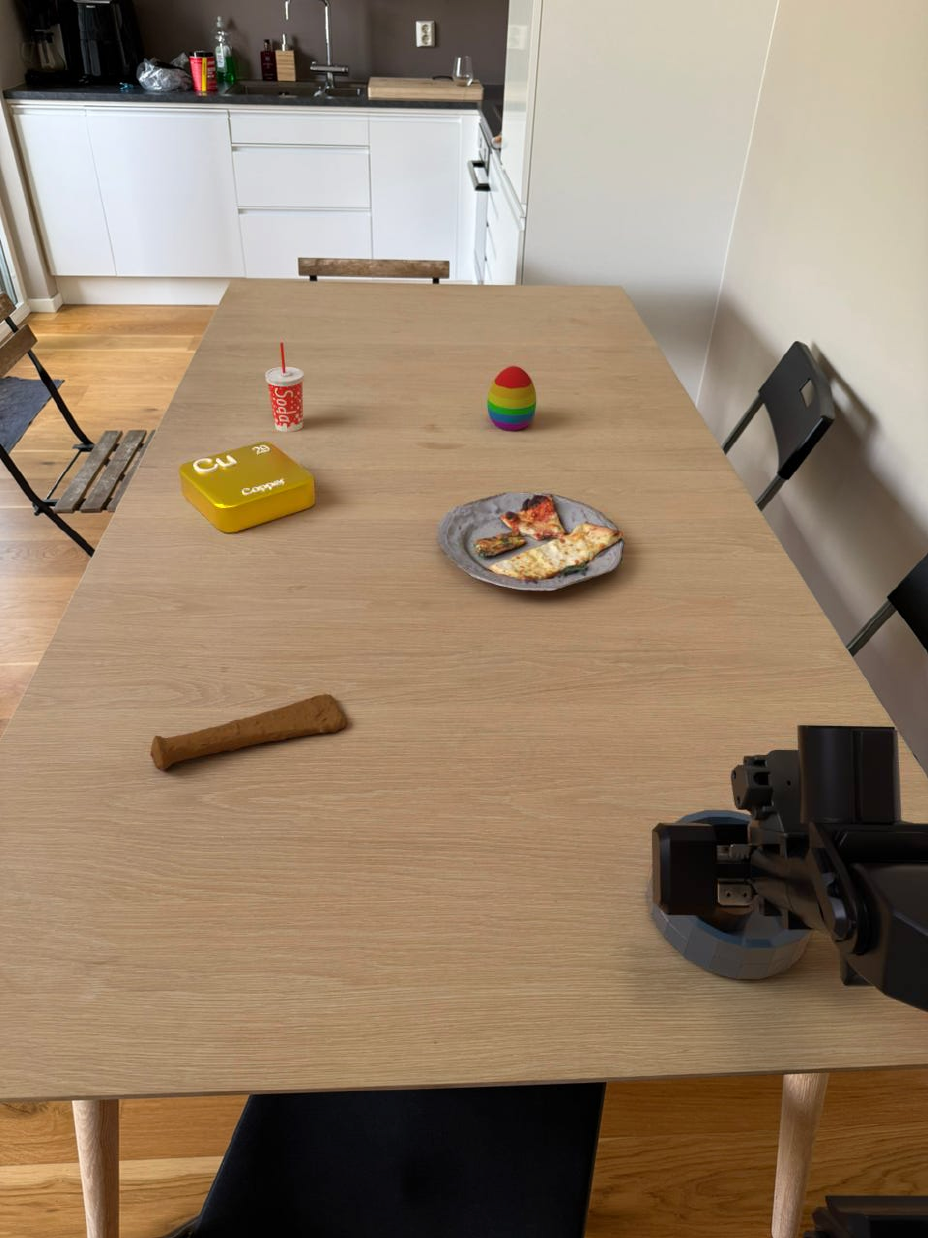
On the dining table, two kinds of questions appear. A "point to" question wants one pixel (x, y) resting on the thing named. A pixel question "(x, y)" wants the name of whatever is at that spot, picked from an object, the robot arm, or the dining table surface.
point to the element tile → (247, 486)
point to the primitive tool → (252, 730)
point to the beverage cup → (286, 396)
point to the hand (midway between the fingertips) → (743, 853)
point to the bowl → (735, 952)
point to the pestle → (733, 909)
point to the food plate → (530, 540)
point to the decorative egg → (512, 399)
